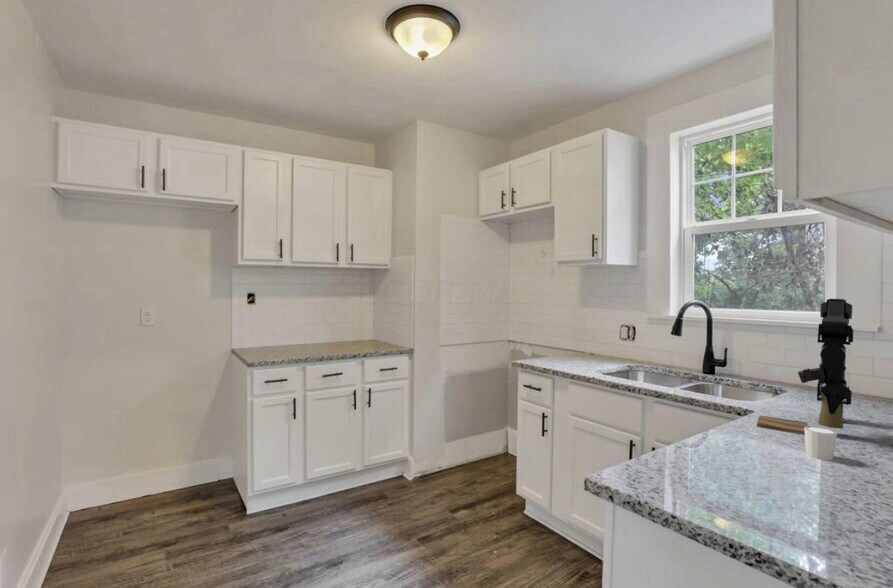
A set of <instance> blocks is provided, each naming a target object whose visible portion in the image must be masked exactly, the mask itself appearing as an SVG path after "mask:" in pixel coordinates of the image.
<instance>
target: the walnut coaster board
mask: <svg viewBox="0 0 893 588" xmlns="http://www.w3.org/2000/svg"><path fill="white" fill-rule="evenodd" d="M756 427H757V428H763V429H768V430H776V431H781V432H787V433H794V434H799V435H804V436H805V431H804V427H809V425H808V422H806V421H805V422H804V421H799V420H792V419H786V418H780V417H773V416H767V415H759V416H758V419H757V423H756Z"/></svg>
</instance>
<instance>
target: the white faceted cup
mask: <svg viewBox="0 0 893 588" xmlns="http://www.w3.org/2000/svg"><path fill="white" fill-rule="evenodd" d="M804 431H805V435H804V440H805V441H804V442H805V445H804V446H805V455H807V456H809V457H810V458H813V459H815V460H816V459H817V460H822V461H832V460H834V455H835V448H836V442H837V436H838V432H836V431H834V430H832V429H827V428H823V427H819V426H808V427H804Z"/></svg>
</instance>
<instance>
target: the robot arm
mask: <svg viewBox="0 0 893 588" xmlns="http://www.w3.org/2000/svg"><path fill="white" fill-rule="evenodd" d="M819 315H820V318H822V319H821V323H818V329H817V343H818V344H819V343H822V345H821V351H820V353H819V355H820V359H821V360H820V363H819V367H816V368H815V367H814V368H807V369H802V370H799V371H797V375H798V377H799V379H800V382H801V383H802V384H805V383H808V382H811V381H812V382H813V381H818V382H817V386H816V387H817V388H816V401H818V402H819V401H820V402H821V403H822V402H823V398H822V397H821V393H823V394H824V395H825V396H826V399H827V404H828V409H829V413H830V414H834V413H835V412H836V410H837V408H838V407H839V405H840V404H841V412H842V420H843V424H844V423H845V422H846V421H845V418H844V417H843V416H844V405H852V395H853V391H852V390H851V389H850V386H847V380H846V378H845V377H846V371H847V367H846V359H847V358H846V357H847V354H846V353H847V347H846V346H845V345H847V346H848V345H849V346H851V343H854V328H852V327H853V325H851V324H849V323H850V320H852V318H853V304H850V303H848V302H847V300H846V299H844V298H828V299H826V301H825V302H822V303H821V304H820V314H819ZM819 416H820V414H819Z"/></svg>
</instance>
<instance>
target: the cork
mask: <svg viewBox="0 0 893 588" xmlns="http://www.w3.org/2000/svg"><path fill="white" fill-rule="evenodd" d="M820 397H822V398H823V402H822V401H821V407H820V408H821V409H820V412H819V415H820V416H819V418H818V422H817V423H818V425H819V426H821V427H826V428H832V429H843V428H844V423H843V420H842V412H841V404H840V405H839V407H838V408H837V410H836V412H835V413H834V414H830V413H829V409H828V404H827V399H826V396H825V395H824V394H823V393H821V396H820Z"/></svg>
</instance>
